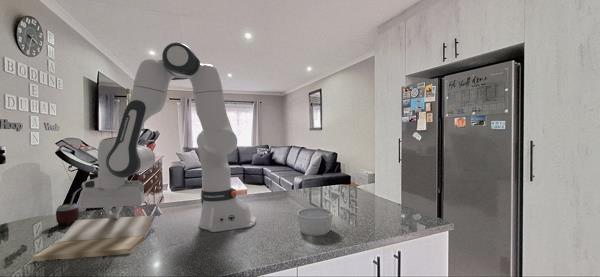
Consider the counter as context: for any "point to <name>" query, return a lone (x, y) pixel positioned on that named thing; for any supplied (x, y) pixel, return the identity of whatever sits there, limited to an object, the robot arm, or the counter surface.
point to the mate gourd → (67, 213)
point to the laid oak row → (89, 248)
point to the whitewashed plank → (108, 228)
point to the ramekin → (314, 221)
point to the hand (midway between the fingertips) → (113, 218)
